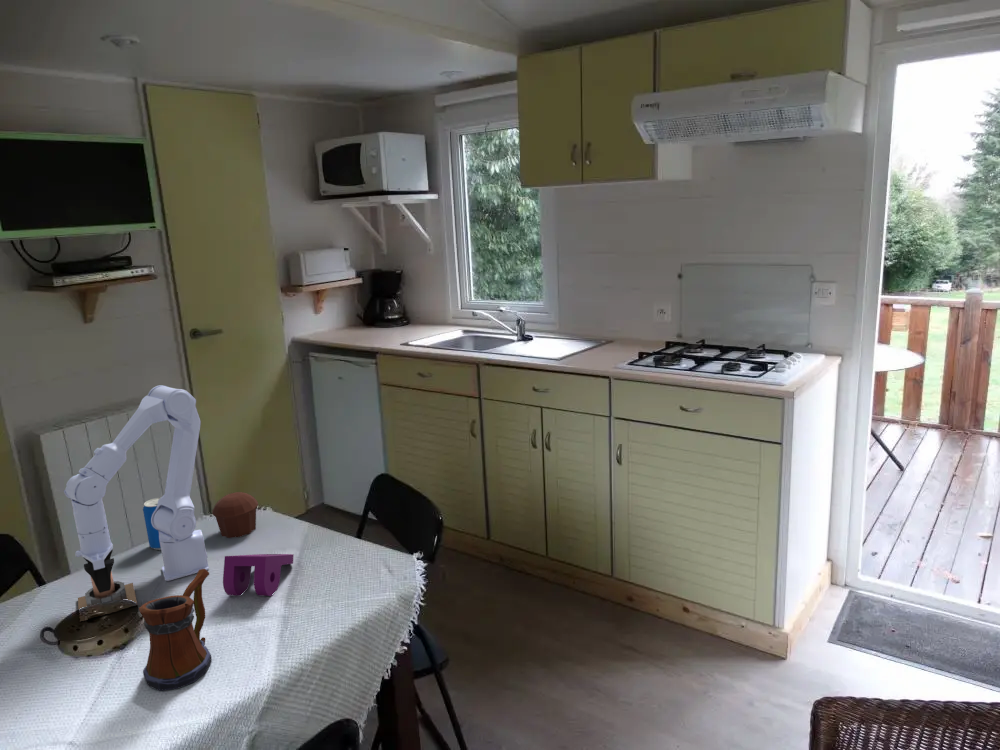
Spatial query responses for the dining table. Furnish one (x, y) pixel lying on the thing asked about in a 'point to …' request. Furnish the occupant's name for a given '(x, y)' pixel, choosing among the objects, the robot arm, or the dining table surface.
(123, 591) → the cup bracket
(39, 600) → the dining table surface
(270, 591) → the mounting bracket
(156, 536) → the beverage can
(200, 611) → the mug
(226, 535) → the muffin
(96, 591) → the rail post
